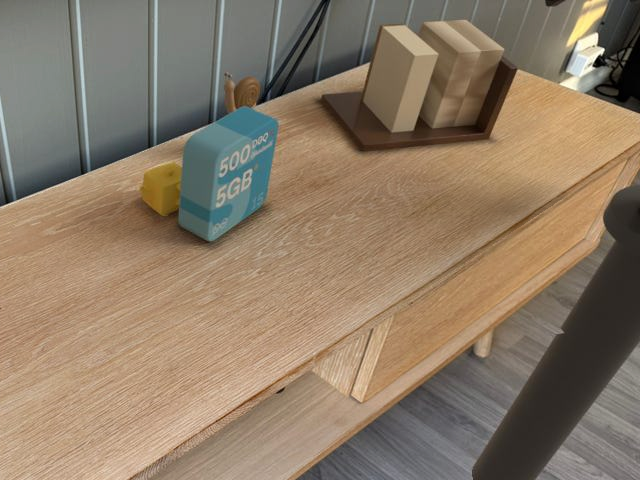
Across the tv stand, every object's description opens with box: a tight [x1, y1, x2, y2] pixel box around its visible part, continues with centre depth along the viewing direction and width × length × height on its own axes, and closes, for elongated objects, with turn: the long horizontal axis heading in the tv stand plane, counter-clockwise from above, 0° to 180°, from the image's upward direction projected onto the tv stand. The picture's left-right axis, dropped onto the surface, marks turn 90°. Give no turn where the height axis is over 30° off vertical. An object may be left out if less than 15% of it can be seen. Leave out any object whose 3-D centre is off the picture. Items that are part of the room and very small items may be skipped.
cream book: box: [361, 22, 438, 133], centre depth 100 cm, size 4×10×11 cm, turn 14°
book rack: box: [320, 19, 519, 152], centre depth 101 cm, size 20×15×12 cm
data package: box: [177, 106, 279, 243], centre depth 82 cm, size 12×4×12 cm, turn 139°
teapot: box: [138, 161, 182, 217], centre depth 85 cm, size 8×6×5 cm
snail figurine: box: [223, 71, 261, 115], centre depth 93 cm, size 5×6×12 cm
